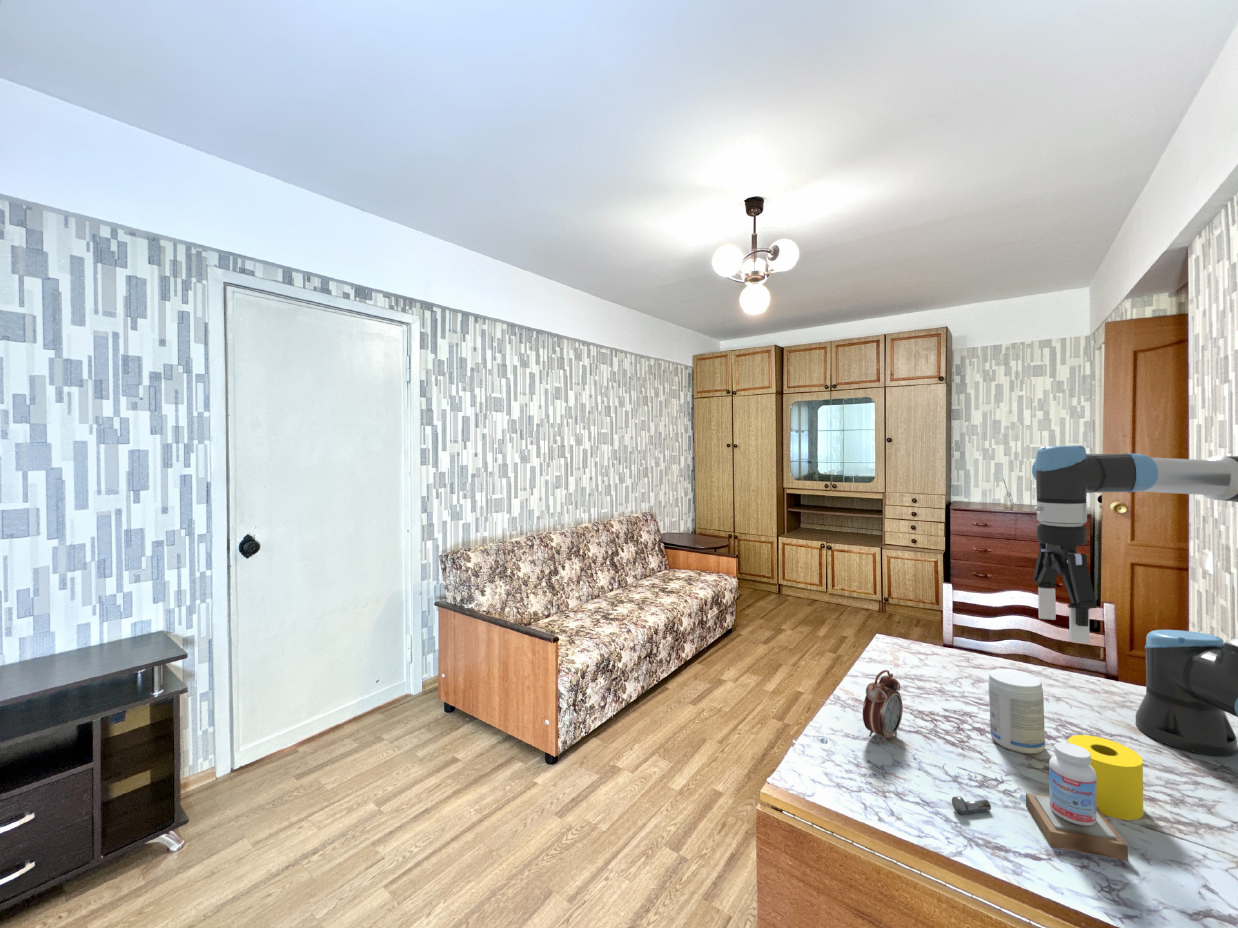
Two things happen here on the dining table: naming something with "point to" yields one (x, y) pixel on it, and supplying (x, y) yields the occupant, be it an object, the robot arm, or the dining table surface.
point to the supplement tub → (1016, 710)
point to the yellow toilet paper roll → (1115, 776)
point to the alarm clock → (883, 706)
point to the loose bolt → (969, 805)
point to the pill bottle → (1073, 784)
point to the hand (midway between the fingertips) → (1062, 629)
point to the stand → (1076, 831)
